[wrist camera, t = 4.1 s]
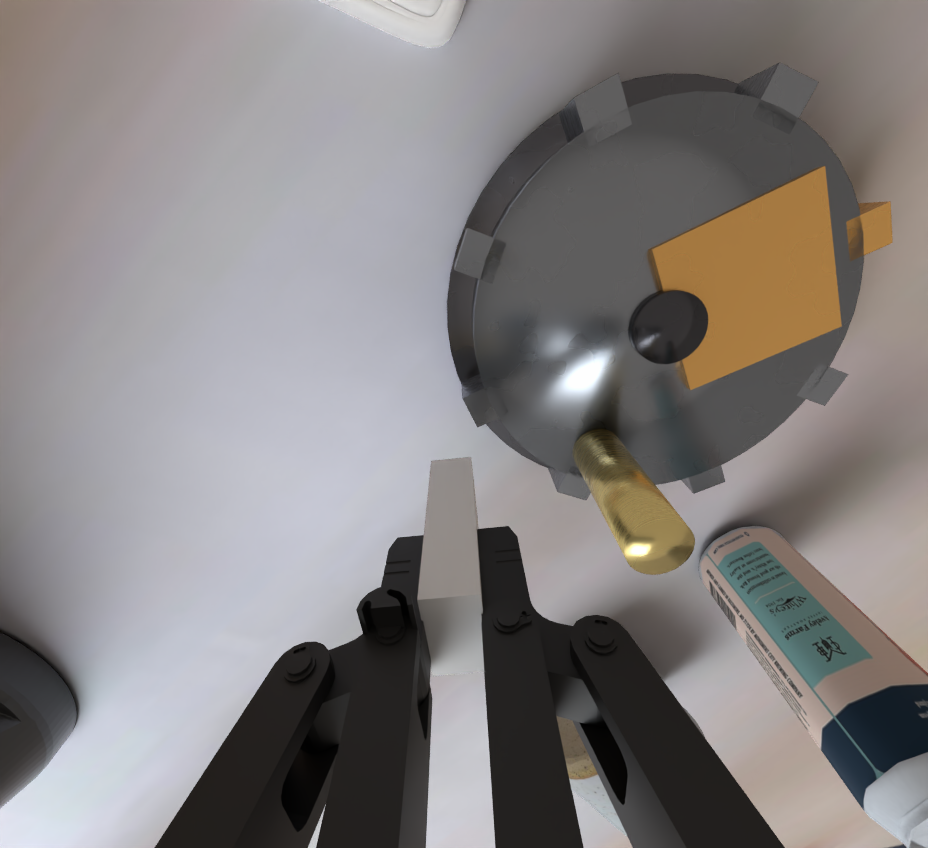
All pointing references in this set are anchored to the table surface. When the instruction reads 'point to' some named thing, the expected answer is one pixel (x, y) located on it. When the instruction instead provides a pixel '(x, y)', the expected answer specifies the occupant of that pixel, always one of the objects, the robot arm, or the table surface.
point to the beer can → (831, 673)
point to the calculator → (407, 18)
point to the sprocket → (667, 295)
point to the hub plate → (504, 189)
